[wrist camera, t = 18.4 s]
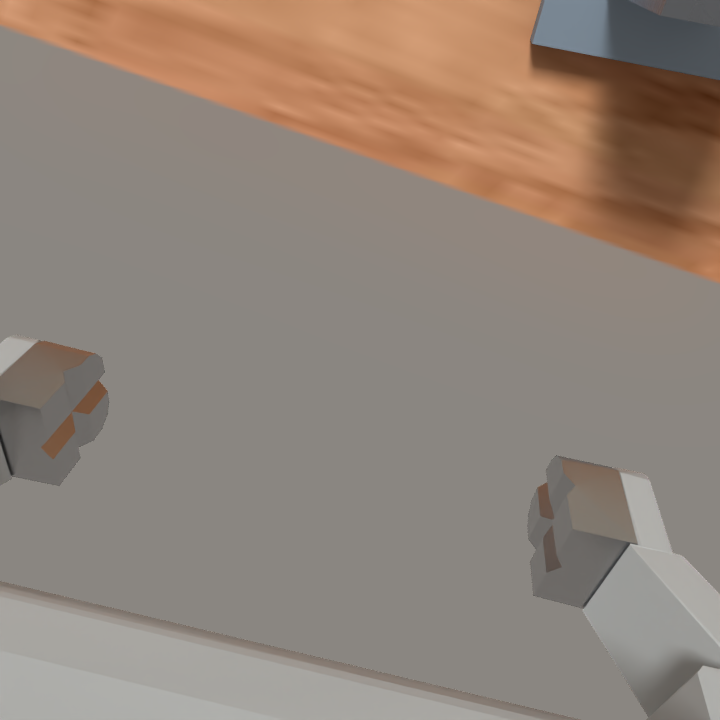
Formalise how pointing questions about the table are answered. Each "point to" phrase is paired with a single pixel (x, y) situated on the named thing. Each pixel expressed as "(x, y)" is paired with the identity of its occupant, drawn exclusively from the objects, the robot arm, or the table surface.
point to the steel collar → (685, 9)
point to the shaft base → (629, 35)
